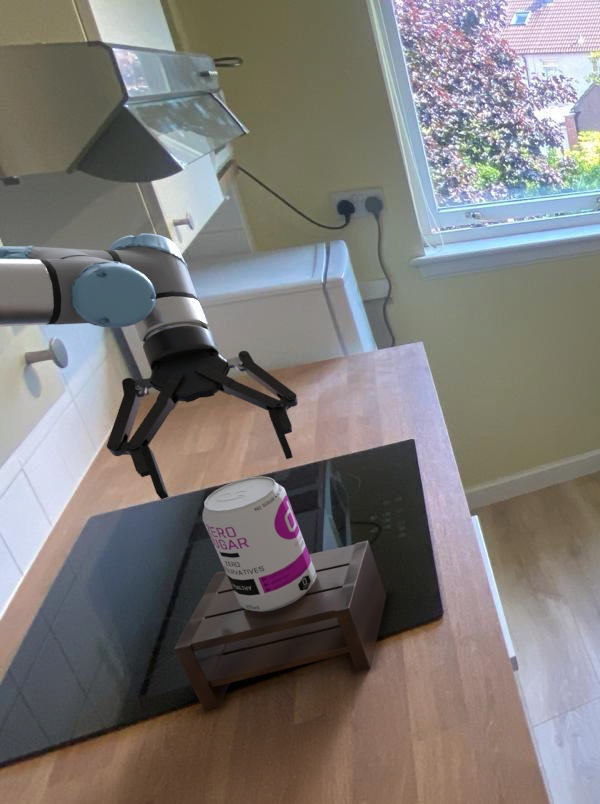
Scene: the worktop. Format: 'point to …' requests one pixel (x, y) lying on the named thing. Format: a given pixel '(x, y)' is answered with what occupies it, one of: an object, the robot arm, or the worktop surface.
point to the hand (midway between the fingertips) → (228, 474)
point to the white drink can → (259, 543)
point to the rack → (284, 625)
